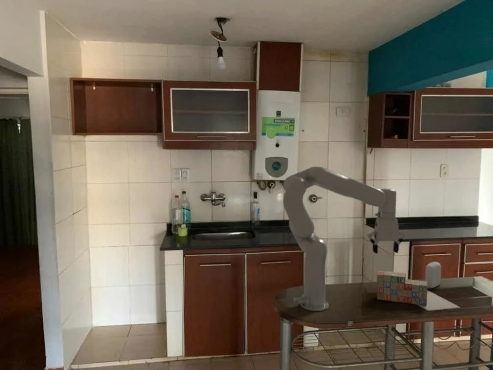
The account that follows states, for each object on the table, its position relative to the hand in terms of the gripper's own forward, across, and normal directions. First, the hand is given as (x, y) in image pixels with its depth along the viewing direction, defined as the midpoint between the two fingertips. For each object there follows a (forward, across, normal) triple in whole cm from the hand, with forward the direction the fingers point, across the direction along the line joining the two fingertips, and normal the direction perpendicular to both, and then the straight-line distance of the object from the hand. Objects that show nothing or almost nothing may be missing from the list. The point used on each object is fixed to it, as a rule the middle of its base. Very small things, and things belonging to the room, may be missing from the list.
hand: (385, 252), depth 173 cm
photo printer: (+23, +35, +18) cm, 46 cm away
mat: (+23, +21, +2) cm, 31 cm away
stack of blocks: (+23, +9, 0) cm, 25 cm away
